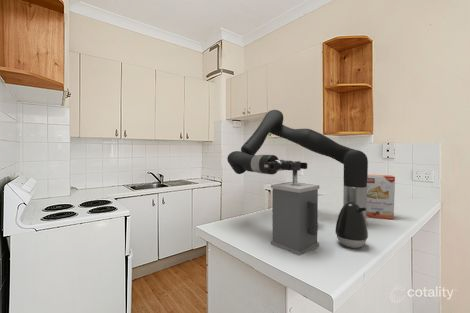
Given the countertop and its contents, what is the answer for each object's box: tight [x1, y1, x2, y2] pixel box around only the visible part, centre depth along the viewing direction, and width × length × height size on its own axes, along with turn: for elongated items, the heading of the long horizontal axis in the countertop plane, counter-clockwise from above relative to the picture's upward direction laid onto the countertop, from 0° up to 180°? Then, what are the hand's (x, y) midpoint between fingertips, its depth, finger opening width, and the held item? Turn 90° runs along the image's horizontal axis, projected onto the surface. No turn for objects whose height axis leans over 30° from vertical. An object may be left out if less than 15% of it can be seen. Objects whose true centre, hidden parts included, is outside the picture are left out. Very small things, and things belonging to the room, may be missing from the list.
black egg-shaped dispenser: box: [335, 202, 369, 249], centre depth 81 cm, size 10×10×15 cm
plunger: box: [289, 160, 301, 186], centre depth 81 cm, size 8×8×28 cm
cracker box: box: [366, 174, 396, 221], centre depth 115 cm, size 14×6×21 cm, turn 68°
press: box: [270, 181, 320, 256], centre depth 81 cm, size 12×14×21 cm
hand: (299, 166), depth 79 cm, fingers open, 8 cm apart
